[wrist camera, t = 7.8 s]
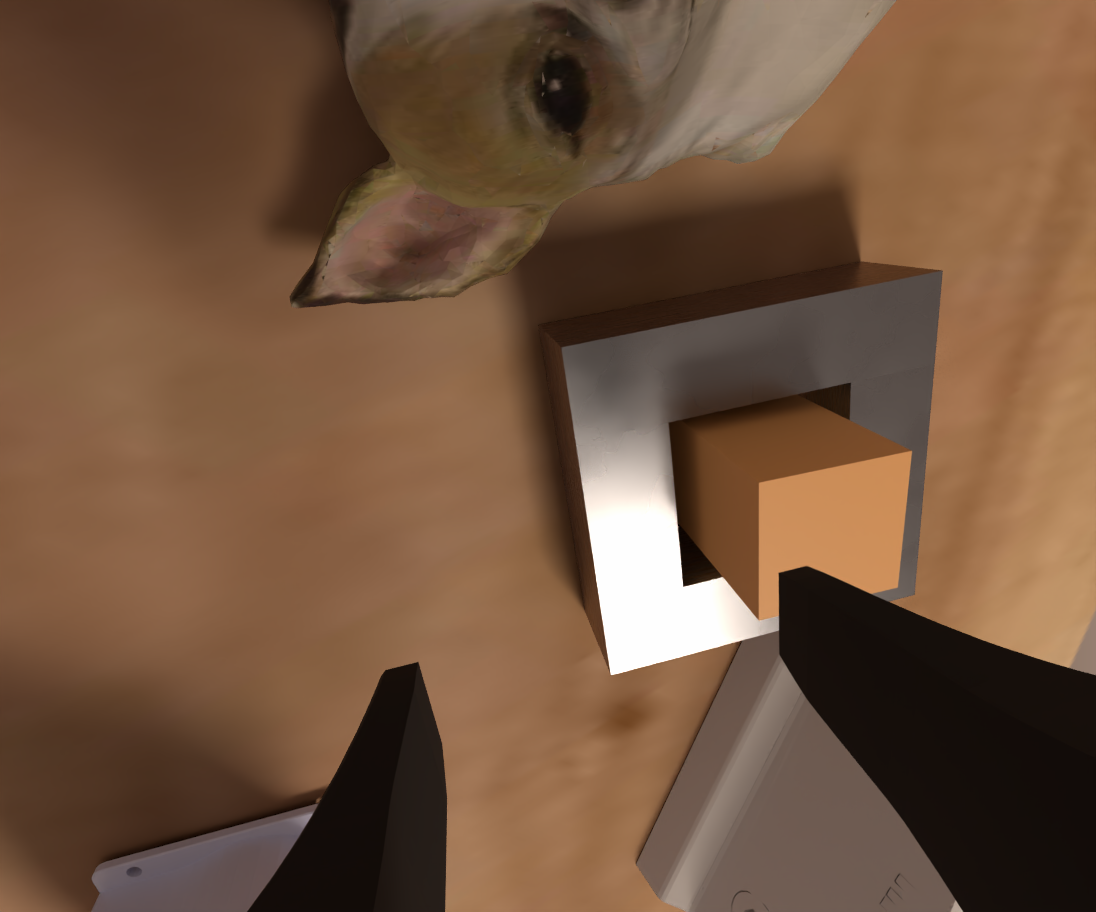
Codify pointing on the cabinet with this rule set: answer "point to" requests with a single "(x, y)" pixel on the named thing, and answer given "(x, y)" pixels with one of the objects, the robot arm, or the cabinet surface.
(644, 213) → the cabinet surface
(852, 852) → the banded rounded wedge
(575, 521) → the socket block
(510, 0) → the ceramic sculpture
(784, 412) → the orange square-section block
